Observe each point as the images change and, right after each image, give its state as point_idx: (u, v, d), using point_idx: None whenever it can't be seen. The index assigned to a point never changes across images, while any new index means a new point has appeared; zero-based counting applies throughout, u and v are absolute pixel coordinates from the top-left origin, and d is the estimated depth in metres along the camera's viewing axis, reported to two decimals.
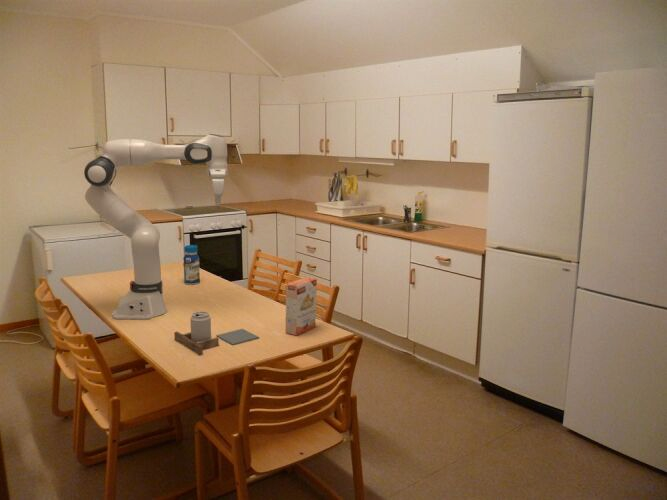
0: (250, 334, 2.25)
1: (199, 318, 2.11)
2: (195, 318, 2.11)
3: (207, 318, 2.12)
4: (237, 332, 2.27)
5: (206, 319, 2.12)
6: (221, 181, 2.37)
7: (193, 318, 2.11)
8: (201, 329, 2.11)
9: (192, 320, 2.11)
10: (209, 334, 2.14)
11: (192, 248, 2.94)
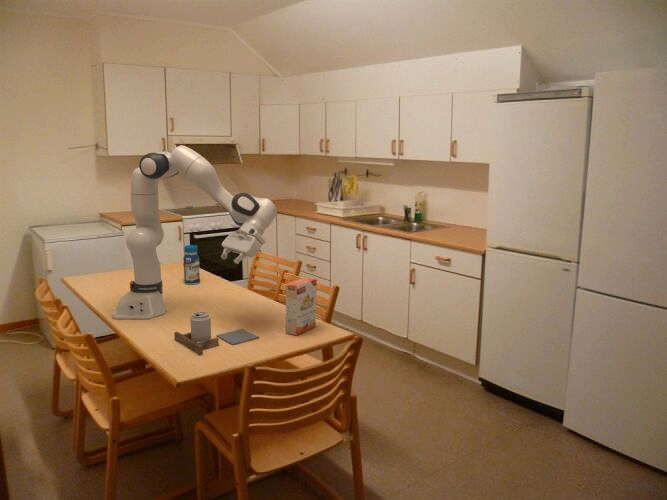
0: (250, 334, 2.25)
1: (199, 318, 2.11)
2: (195, 318, 2.11)
3: (207, 318, 2.12)
4: (237, 332, 2.27)
5: (206, 319, 2.12)
6: (259, 245, 2.21)
7: (193, 318, 2.11)
8: (201, 329, 2.11)
9: (192, 320, 2.11)
10: (209, 334, 2.14)
11: (192, 248, 2.94)
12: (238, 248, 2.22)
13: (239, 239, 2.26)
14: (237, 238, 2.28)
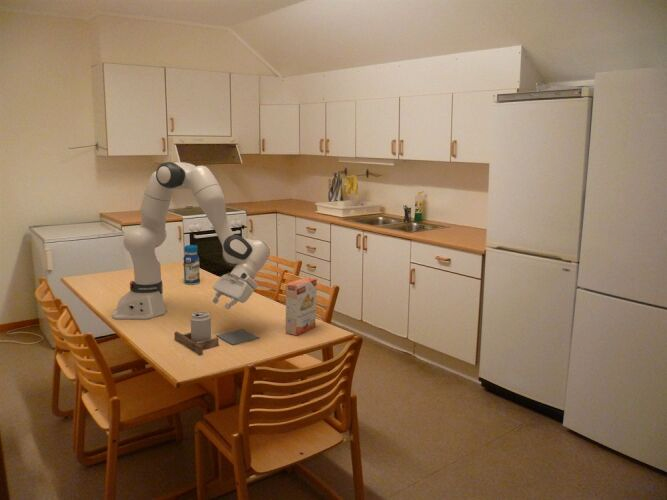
0: (250, 334, 2.25)
1: (199, 318, 2.11)
2: (195, 318, 2.11)
3: (207, 318, 2.12)
4: (237, 332, 2.27)
5: (206, 319, 2.12)
6: (251, 290, 2.16)
7: (193, 318, 2.11)
8: (201, 329, 2.11)
9: (192, 320, 2.11)
10: (209, 334, 2.14)
11: (192, 248, 2.94)
12: (229, 293, 2.17)
13: (231, 283, 2.21)
14: (228, 281, 2.23)
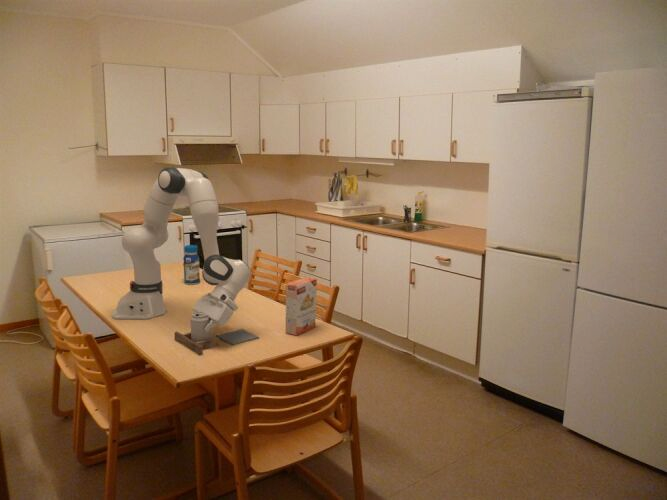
0: (250, 334, 2.25)
1: (199, 318, 2.11)
2: (195, 318, 2.11)
3: (207, 318, 2.12)
4: (237, 332, 2.27)
5: (206, 319, 2.12)
6: (231, 312, 2.11)
7: (193, 318, 2.11)
8: (201, 329, 2.11)
9: (192, 320, 2.11)
10: (209, 334, 2.14)
11: (192, 248, 2.94)
12: (209, 315, 2.12)
13: (210, 304, 2.17)
14: (208, 302, 2.18)
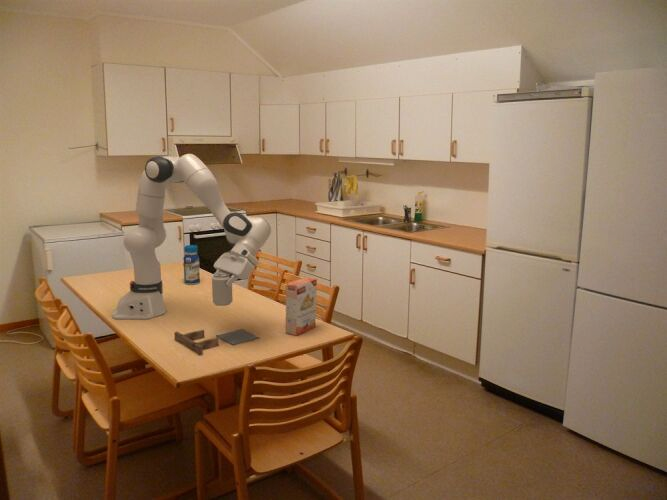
0: (250, 334, 2.25)
1: (220, 277, 2.11)
2: (217, 277, 2.12)
3: (228, 278, 2.13)
4: (237, 332, 2.27)
5: (227, 278, 2.12)
6: (252, 267, 2.12)
7: (215, 277, 2.12)
8: (222, 288, 2.12)
9: (214, 279, 2.12)
10: (230, 294, 2.15)
11: (192, 248, 2.94)
12: (230, 270, 2.13)
13: (231, 260, 2.17)
14: (229, 259, 2.19)
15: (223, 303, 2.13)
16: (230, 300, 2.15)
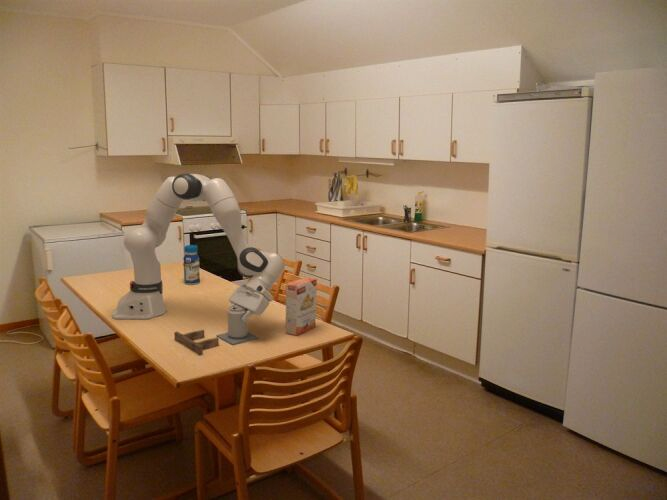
0: (250, 334, 2.25)
1: (236, 311, 2.17)
2: (232, 311, 2.18)
3: (244, 311, 2.19)
4: None
5: (243, 312, 2.18)
6: (267, 303, 2.18)
7: (230, 311, 2.18)
8: (238, 322, 2.18)
9: (229, 313, 2.18)
10: (246, 327, 2.21)
11: (192, 248, 2.94)
12: (245, 305, 2.19)
13: (246, 295, 2.23)
14: (244, 293, 2.25)
15: (238, 336, 2.19)
16: (245, 333, 2.21)
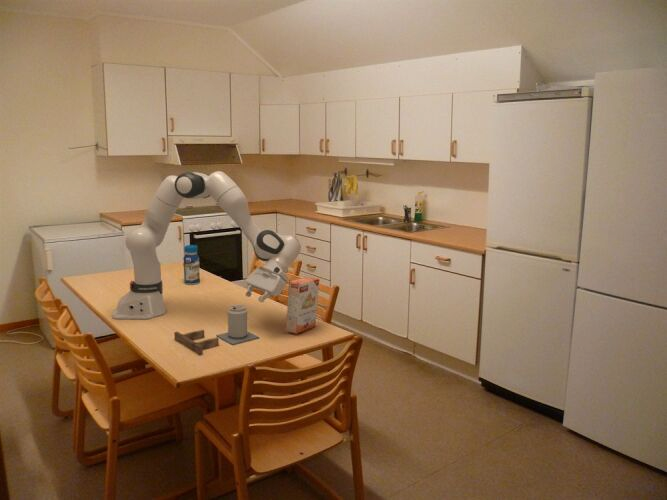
0: (250, 334, 2.25)
1: (236, 311, 2.17)
2: (232, 311, 2.18)
3: (244, 311, 2.19)
4: None
5: (243, 312, 2.18)
6: (284, 284, 2.22)
7: (230, 311, 2.18)
8: (238, 322, 2.18)
9: (229, 313, 2.18)
10: (246, 327, 2.21)
11: (192, 248, 2.94)
12: (263, 286, 2.23)
13: (263, 277, 2.27)
14: (261, 275, 2.29)
15: (238, 336, 2.19)
16: (245, 333, 2.21)
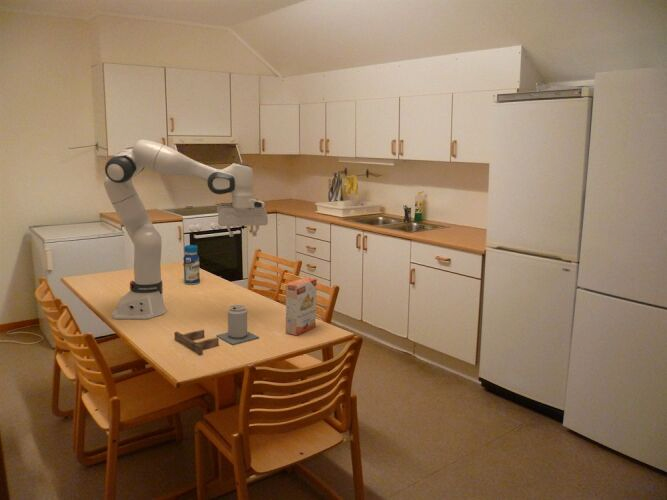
0: (250, 334, 2.25)
1: (236, 311, 2.17)
2: (232, 311, 2.18)
3: (244, 311, 2.19)
4: None
5: (243, 312, 2.18)
6: None
7: (230, 311, 2.18)
8: (238, 322, 2.18)
9: (229, 313, 2.18)
10: (246, 327, 2.21)
11: (192, 248, 2.94)
12: (251, 223, 2.31)
13: (241, 214, 2.30)
14: (235, 213, 2.29)
15: (238, 336, 2.19)
16: (245, 333, 2.21)
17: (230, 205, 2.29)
